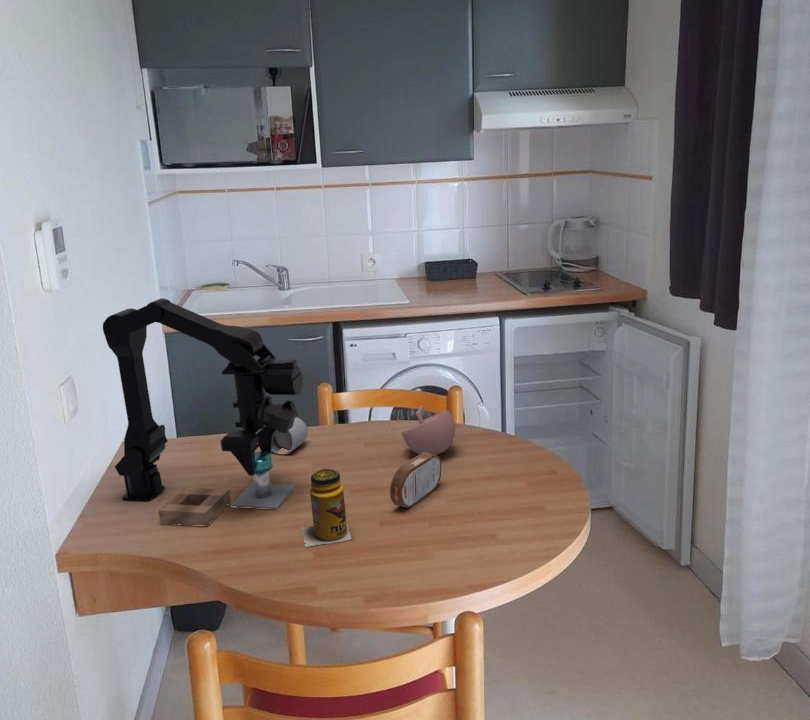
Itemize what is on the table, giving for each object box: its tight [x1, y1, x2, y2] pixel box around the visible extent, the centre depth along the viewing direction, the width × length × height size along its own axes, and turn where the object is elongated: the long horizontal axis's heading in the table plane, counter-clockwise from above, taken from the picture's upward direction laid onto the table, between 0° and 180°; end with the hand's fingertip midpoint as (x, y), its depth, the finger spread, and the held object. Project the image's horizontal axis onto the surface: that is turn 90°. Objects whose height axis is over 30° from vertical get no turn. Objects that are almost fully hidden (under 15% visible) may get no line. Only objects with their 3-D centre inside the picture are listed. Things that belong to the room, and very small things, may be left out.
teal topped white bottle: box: [252, 451, 274, 498], centre depth 152 cm, size 5×5×8 cm
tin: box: [389, 452, 442, 509], centre depth 148 cm, size 15×3×8 cm, turn 145°
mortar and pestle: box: [401, 405, 456, 456], centre depth 168 cm, size 12×12×12 cm
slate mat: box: [230, 483, 296, 509], centre depth 154 cm, size 10×10×1 cm
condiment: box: [300, 468, 353, 548], centre depth 136 cm, size 7×8×12 cm
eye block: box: [158, 487, 232, 527], centre depth 148 cm, size 10×10×3 cm
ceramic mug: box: [271, 416, 309, 455], centre depth 178 cm, size 11×8×8 cm
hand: (259, 466), depth 152 cm, fingers open, 8 cm apart
